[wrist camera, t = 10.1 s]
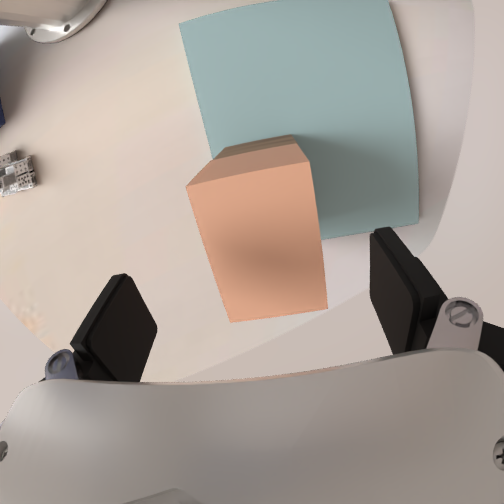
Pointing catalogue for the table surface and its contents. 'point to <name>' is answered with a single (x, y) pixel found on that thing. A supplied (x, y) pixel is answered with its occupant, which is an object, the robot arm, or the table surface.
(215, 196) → the terracotta brick
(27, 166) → the miniature building cluster
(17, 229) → the table surface
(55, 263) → the table surface
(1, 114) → the blue angular block
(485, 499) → the robot arm
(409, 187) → the board
